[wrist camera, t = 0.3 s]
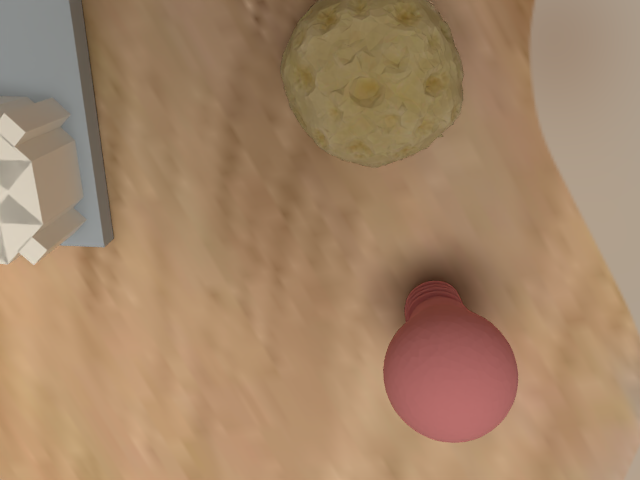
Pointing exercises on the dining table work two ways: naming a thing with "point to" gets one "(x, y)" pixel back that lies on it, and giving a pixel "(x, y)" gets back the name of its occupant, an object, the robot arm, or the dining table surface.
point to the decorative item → (373, 78)
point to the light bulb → (448, 367)
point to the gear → (36, 179)
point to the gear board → (59, 92)
